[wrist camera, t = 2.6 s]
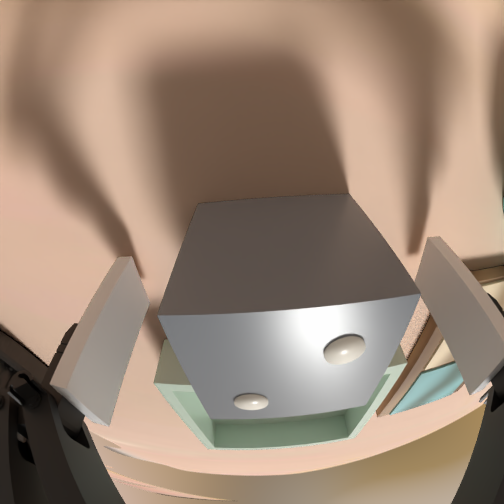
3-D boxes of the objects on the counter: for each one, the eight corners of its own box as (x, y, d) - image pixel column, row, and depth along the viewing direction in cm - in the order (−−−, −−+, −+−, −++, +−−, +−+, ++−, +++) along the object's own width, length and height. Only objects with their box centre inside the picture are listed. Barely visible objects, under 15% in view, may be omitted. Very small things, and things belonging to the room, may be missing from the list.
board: (375, 409, 23) (377, 418, 22) (447, 275, 13) (457, 288, 12) (454, 384, 22) (458, 392, 21) (533, 259, 12) (541, 267, 11)
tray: (209, 421, 23) (207, 449, 20) (164, 339, 15) (153, 383, 13) (349, 411, 22) (354, 438, 20) (390, 322, 15) (407, 362, 12)
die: (220, 311, 14) (210, 421, 9) (198, 202, 11) (156, 318, 6) (335, 302, 14) (366, 407, 9) (348, 192, 10) (423, 296, 5)
